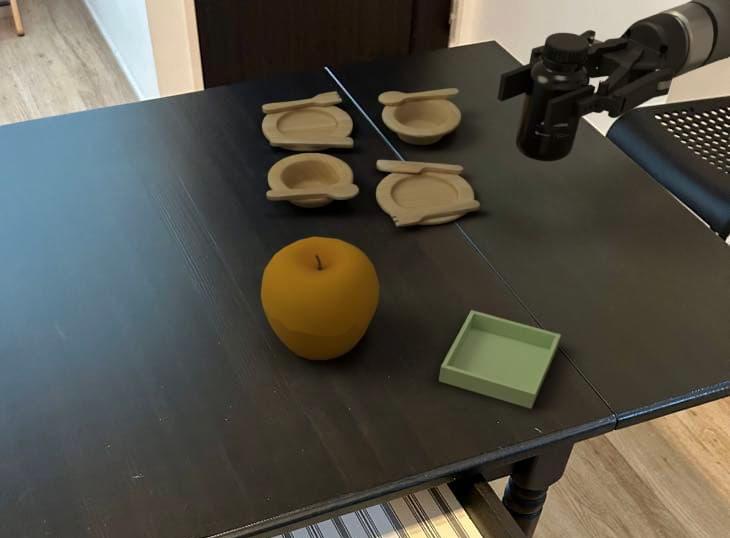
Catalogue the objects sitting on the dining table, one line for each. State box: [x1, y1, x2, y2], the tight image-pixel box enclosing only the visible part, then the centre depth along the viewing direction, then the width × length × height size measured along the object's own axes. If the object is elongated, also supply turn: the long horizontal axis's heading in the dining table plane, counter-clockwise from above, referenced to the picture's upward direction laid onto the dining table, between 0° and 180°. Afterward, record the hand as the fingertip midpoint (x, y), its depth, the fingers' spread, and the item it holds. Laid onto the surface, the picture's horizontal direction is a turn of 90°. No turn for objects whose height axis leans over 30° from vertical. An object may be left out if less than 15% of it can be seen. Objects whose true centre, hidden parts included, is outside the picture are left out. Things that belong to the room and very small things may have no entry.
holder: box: [438, 309, 562, 410], centre depth 91 cm, size 10×10×2 cm
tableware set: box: [261, 87, 481, 228], centre depth 116 cm, size 35×29×4 cm
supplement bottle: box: [515, 32, 591, 162], centre depth 95 cm, size 7×7×12 cm
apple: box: [260, 236, 381, 361], centre depth 90 cm, size 13×13×11 cm
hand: (524, 101), depth 92 cm, fingers closed on supplement bottle, 7 cm apart
